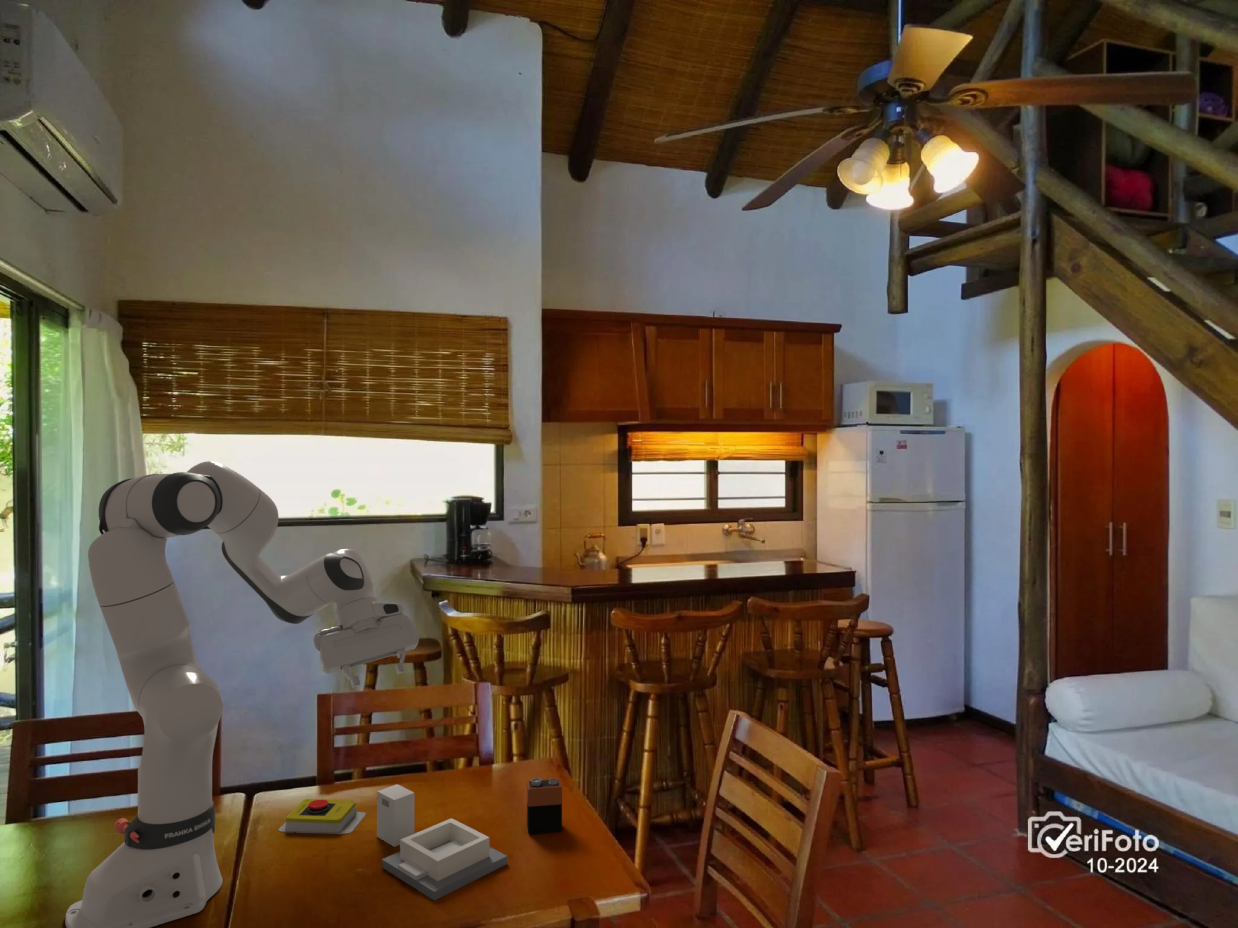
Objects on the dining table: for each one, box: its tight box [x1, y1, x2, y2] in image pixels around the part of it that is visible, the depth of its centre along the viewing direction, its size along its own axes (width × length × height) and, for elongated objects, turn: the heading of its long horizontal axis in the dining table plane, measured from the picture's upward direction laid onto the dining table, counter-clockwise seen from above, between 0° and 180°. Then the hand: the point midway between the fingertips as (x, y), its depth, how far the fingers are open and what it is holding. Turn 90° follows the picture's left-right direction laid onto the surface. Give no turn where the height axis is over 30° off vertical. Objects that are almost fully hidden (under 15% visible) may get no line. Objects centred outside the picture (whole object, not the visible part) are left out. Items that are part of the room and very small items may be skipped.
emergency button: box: [278, 798, 367, 835], centre depth 160 cm, size 9×4×15 cm
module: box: [376, 784, 415, 847], centre depth 154 cm, size 5×6×9 cm
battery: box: [526, 777, 563, 835], centre depth 158 cm, size 4×7×10 cm, turn 101°
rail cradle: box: [381, 817, 508, 901], centre depth 143 cm, size 16×16×5 cm
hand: (379, 678), depth 165 cm, fingers open, 8 cm apart
